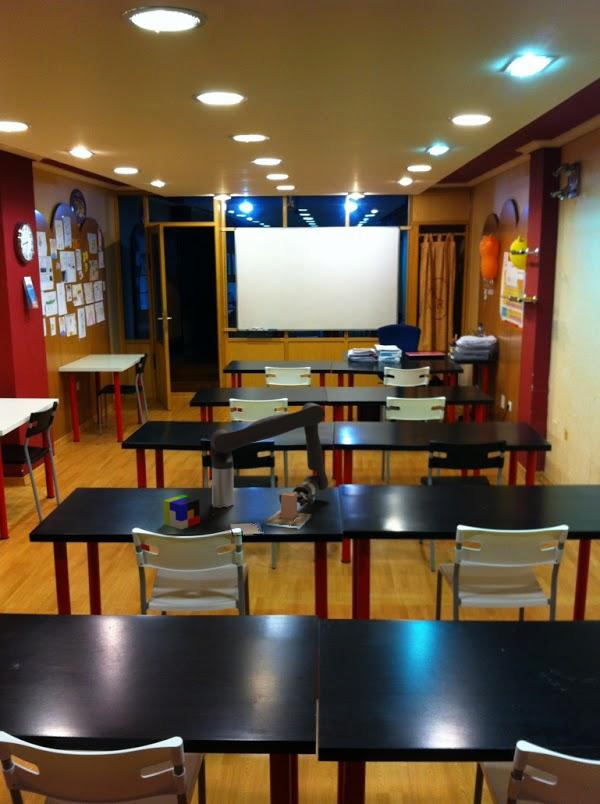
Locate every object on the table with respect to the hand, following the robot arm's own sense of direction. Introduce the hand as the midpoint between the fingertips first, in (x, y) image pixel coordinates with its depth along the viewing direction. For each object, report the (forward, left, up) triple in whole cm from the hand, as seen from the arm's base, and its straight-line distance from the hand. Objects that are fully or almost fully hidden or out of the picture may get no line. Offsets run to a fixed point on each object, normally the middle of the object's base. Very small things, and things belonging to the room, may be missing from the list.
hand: (291, 502), depth 290 cm
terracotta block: (-1, -2, -8) cm, 8 cm away
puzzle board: (-1, -2, -8) cm, 8 cm away
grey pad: (-19, -9, -8) cm, 22 cm away
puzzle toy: (-44, +3, -8) cm, 45 cm away
